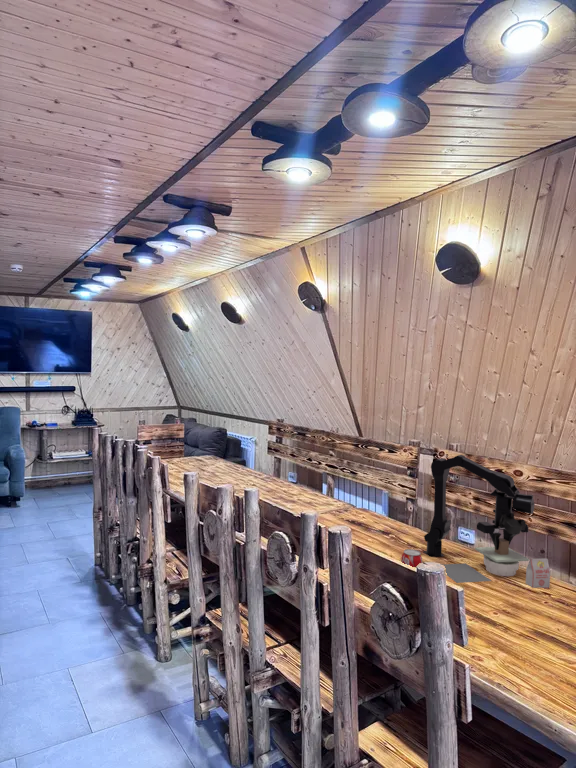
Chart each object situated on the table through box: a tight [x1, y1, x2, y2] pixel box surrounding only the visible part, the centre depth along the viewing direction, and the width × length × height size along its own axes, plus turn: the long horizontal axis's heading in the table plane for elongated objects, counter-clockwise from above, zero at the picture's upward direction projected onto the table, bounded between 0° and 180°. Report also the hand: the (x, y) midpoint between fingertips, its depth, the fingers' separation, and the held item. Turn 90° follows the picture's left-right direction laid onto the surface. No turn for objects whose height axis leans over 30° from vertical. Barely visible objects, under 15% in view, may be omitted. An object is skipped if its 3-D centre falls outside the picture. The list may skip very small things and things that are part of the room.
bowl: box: [483, 555, 520, 577], centre depth 194 cm, size 12×12×5 cm
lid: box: [474, 537, 530, 562], centre depth 194 cm, size 14×14×6 cm
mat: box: [441, 562, 492, 584], centre depth 191 cm, size 17×14×1 cm
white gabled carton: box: [525, 558, 551, 590], centre depth 182 cm, size 4×7×10 cm, turn 99°
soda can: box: [400, 548, 423, 567], centre depth 177 cm, size 7×7×12 cm
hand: (501, 549), depth 194 cm, fingers closed on lid, 3 cm apart
